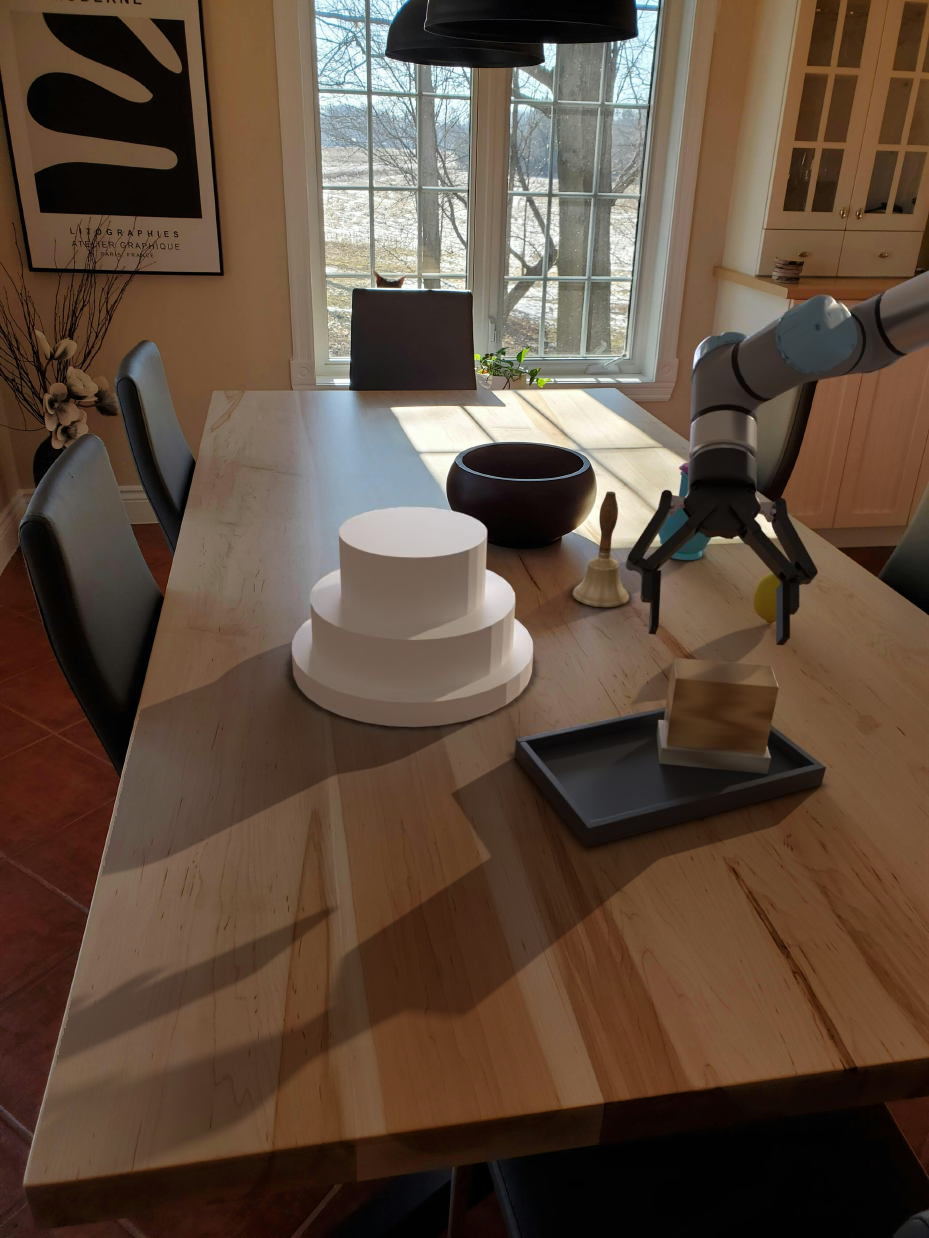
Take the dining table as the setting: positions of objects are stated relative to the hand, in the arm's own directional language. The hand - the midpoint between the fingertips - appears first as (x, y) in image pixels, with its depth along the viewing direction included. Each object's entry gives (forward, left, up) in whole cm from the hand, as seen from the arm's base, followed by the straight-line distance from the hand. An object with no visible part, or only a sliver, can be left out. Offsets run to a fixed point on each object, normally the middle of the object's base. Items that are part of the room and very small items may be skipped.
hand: (717, 636), depth 96 cm
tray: (-5, +9, -12) cm, 16 cm away
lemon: (+20, -25, -12) cm, 34 cm away
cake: (+26, +26, -12) cm, 38 cm away
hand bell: (+36, -7, -12) cm, 38 cm away
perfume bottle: (+47, -29, -12) cm, 56 cm away
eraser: (-5, +3, -11) cm, 13 cm away
